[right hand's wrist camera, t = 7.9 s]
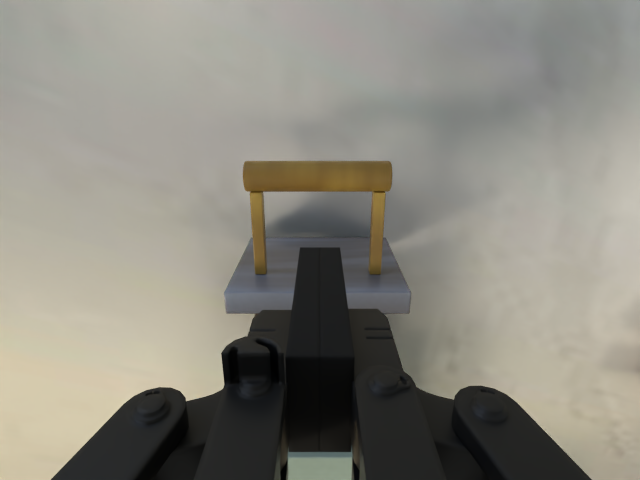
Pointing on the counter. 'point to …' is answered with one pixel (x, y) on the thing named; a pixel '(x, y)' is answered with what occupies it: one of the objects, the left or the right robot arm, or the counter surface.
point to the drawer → (317, 240)
